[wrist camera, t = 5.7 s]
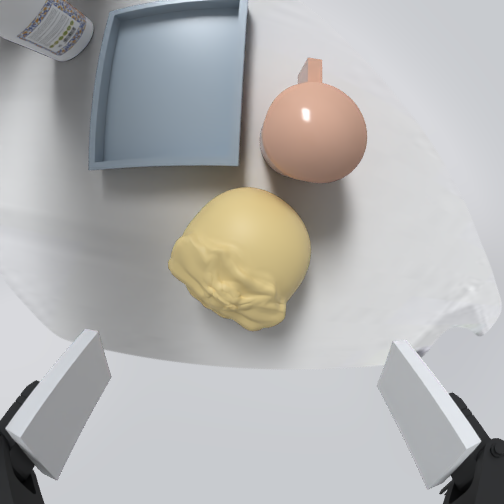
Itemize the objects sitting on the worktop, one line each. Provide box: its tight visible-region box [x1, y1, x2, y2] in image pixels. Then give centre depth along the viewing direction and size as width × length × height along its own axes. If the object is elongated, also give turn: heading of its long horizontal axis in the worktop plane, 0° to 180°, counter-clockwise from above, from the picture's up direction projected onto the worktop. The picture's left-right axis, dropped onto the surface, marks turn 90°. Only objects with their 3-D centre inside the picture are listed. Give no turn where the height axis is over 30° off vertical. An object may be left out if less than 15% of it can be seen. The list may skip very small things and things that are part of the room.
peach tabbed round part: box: [260, 58, 367, 183], centre depth 23 cm, size 8×11×9 cm
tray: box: [89, 0, 248, 170], centre depth 24 cm, size 20×16×3 cm
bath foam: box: [0, 0, 93, 61], centre depth 13 cm, size 7×7×20 cm
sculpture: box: [168, 187, 311, 331], centre depth 25 cm, size 11×12×11 cm
